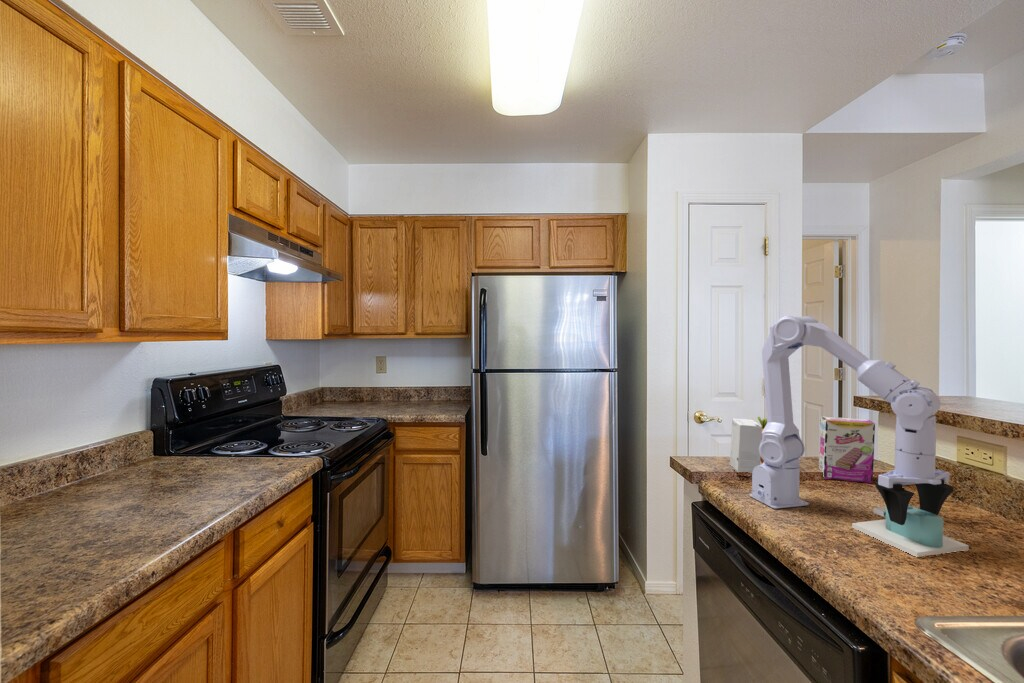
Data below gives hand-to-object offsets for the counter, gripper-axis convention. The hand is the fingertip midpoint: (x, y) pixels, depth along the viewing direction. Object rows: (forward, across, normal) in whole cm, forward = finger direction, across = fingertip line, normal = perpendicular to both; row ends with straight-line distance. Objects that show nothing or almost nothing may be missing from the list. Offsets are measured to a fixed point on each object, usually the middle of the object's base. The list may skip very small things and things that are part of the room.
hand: (912, 520), depth 83 cm
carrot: (+4, +7, +45) cm, 46 cm away
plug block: (+3, 0, +1) cm, 3 cm away
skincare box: (+4, -3, +41) cm, 41 cm away
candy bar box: (+4, +20, +31) cm, 37 cm away
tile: (+4, 0, +1) cm, 4 cm away
